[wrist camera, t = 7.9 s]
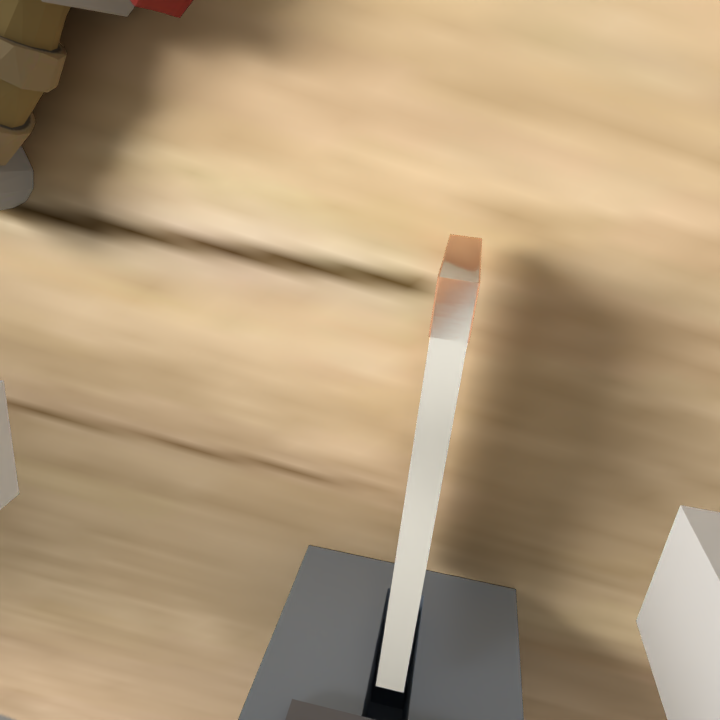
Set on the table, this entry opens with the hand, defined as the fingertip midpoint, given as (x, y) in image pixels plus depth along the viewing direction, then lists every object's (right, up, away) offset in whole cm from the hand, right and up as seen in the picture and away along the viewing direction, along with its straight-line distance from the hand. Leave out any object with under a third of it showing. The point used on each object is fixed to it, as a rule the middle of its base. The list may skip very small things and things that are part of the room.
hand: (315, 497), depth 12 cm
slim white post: (+4, 0, +17) cm, 17 cm away
